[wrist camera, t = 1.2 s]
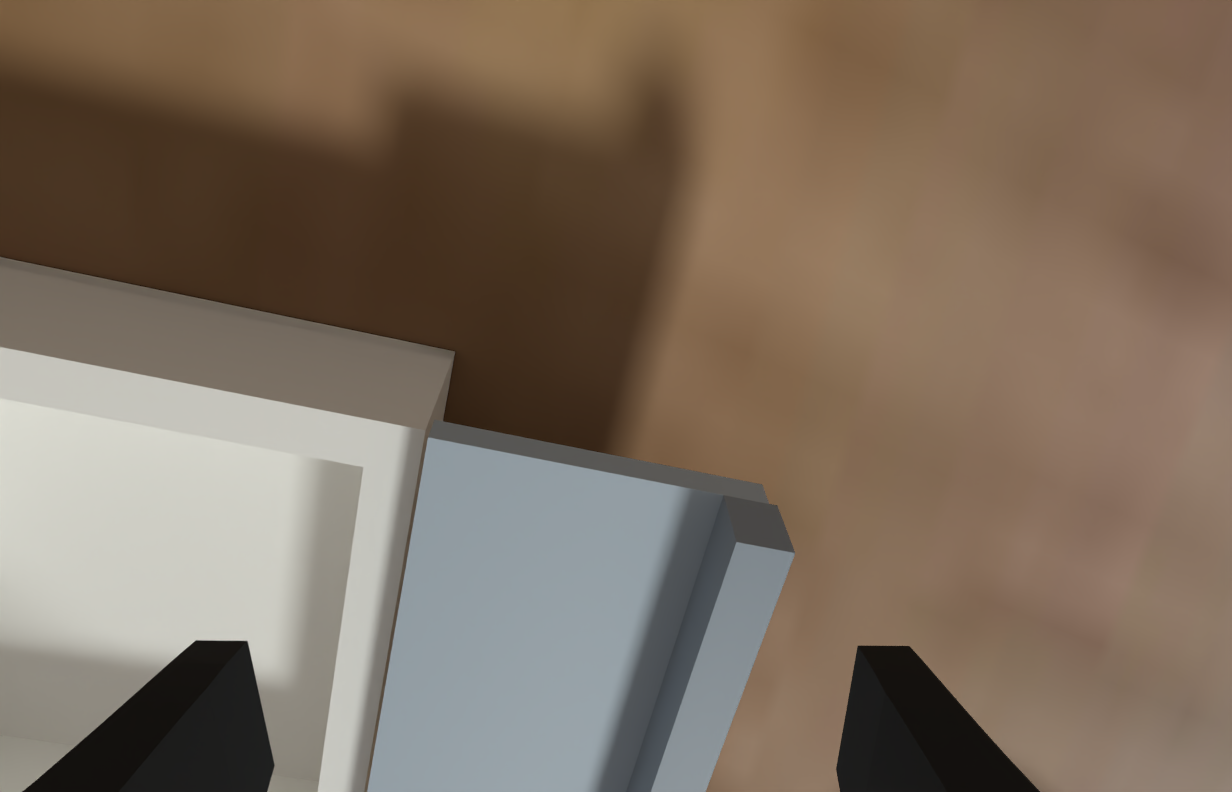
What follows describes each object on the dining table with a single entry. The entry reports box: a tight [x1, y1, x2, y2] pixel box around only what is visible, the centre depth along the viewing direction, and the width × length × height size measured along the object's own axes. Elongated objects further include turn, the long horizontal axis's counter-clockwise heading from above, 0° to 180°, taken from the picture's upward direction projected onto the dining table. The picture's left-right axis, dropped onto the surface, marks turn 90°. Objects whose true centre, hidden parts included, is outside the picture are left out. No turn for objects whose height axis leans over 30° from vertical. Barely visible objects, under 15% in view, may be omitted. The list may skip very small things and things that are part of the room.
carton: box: [0, 257, 455, 792], centre depth 20 cm, size 14×12×4 cm
